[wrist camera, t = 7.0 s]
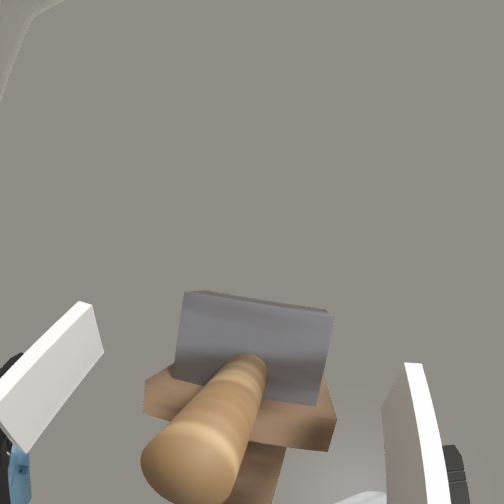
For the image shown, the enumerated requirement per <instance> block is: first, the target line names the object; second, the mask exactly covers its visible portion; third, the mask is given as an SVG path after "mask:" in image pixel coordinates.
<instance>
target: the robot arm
mask: <svg viewBox="0 0 504 504" xmlns="http://www.w3.org/2000/svg"><path fill="white" fill-rule="evenodd" d="M62 1H64V0H0V103H1V100H2V96H3V93H4V90H5V87H6V84H7V81H8V78H9V75H10V72H11V70H12V67H13V64H14V61H15V59H16V56H17V54H18V51H19V49H20V46H21V44H22V42H23V39H24V37H25V35H26V32H27V30H28V28H29V26H30V24H31V22H32V19H33V18H34V17H35V16H36V15H37V14H39V13H41V12H43V11H44V10H46V9H48V8H50V7H52V6H54V5H56V4H58V3H60V2H62ZM103 353H104V350H103V346H102V343H101V339H100V335H99V331H98V328H97V324H96V320H95V315H94V311H93V307H92V305H91V304H87V303H84V302H80V301H79V302H78V303H77V304H75V305H74V306H73V307H72V308H71V309H70V310H69V311H68V312H67V313H66V314H65V315H64V316H62V317H61V319H59V320H58V321H57V322H56V323H55V324H54V325H53V326H52V327H51V328H50V329H49V330H48V331H47V332H46V333H45V334H44V335H43V336H42V337H41V338H40V339H39V340H37V342H35V343H34V344H33V345H32V347H31V348H30V349H28V350H27V351H26V352H25V353H24V354H23V353H19V354H17V355H15V356H14V357H12V358H10V359H9V361H8V362H7V363H6V364H5V365H4V366H3V368H1V369H0V504H28V503H29V502H30V499H31V486H30V471H29V450H30V449H31V447H32V446H33V445H34V443H35V442H36V440H37V439H38V438H39V436H40V435H41V433H42V432H43V431H44V429H45V428H46V427H47V425H48V424H49V423H50V421H51V420H52V419H53V417H54V416H55V415H56V413H57V412H58V411H59V409H60V408H61V407H62V405H63V404H64V403H65V401H66V400H67V399H68V397H69V396H70V395H71V394H72V392H73V391H74V390H75V388H76V387H77V386H78V385H79V383H80V382H81V381H82V379H83V378H84V377H85V376H86V374H87V373H88V372H89V370H90V369H91V368H92V367H93V365H94V364H95V363H96V362H97V360H98V359H99V358H100V357H101V355H102V354H103ZM381 413H382V424H383V436H384V449H385V463H386V487H387V504H470V499H469V493H468V487H467V482H466V476H465V472H464V465H463V461H462V456H461V454H460V453H459V451H458V450H457V448H456V447H455V445H446V446H442V444H441V440H440V435H439V430H438V425H437V421H436V417H435V412H434V409H433V404H432V400H431V396H430V392H429V389H428V385H427V382H426V378H425V374H424V371H423V367H422V364H417V363H404V364H403V366H402V368H401V370H400V372H399V374H398V377H397V378H396V381H395V382H394V385H393V386H392V388H391V390H390V392H389V394H388V396H387V397H386V399H385V401H384V403H383V405H382V407H381Z"/></svg>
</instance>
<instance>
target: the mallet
mask: <svg viewBox="0 0 504 504" xmlns="http://www.w3.org/2000/svg"><path fill="white" fill-rule="evenodd" d="M333 320H334V316H332V315H331V314H330V313H329V312H327V311H326V310H324V309H317V308H311V307H304V306H298V305H291V304H285V303H279V302H272V301H266V300H260V299H254V298H248V297H242V296H236V295H230V294H224V293H219V292H213V291H189V292H184V298H183V303H182V311H181V317H180V324H179V332H178V339H177V346H176V354H175V362H174V371H173V378H174V379H177V380H181V381H185V382H189V383H193V384H197V385H201V386H204V387H203V388H202V389H201V390H200V391H199V392H198V393H197V394H196V395H195V396H194V398H193V399H192V400H191V401H190V402H189V403H188V404H187V405H186V406H185V407H184V408H183V409H182V410H181V411H180V412H179V413H178V414H177V415H176V416H175V417H174V418H173V419H172V420H171V421H170V422H169V423H168V424H167V426H165V428H163V430H161V432H159V433H158V434H157V435H156V436H155V438H153V439H152V441H151V442H149V443H148V444H147V446H146V447H145V448H144V450H143V452H142V455H141V468H142V471H143V474H144V476H145V478H146V480H147V482H148V483H149V484H150V486H151V487H152V488H153V489H154V490H155V491H156V492H157V493H158V494H159V495H161V496H162V497H164V498H165V499H167V500H169V501H170V502H172V503H175V504H221V503H222V502H224V501H225V500H226V499H227V498H228V497H229V495H230V493H231V491H232V488H233V486H234V483H235V480H236V477H237V474H238V471H239V468H240V465H241V462H242V459H243V457H244V454H245V451H246V448H247V445H248V441H249V438H250V435H251V432H252V429H253V426H254V423H255V420H256V417H257V413H258V410H259V407H260V404H261V401H262V399H268V400H274V401H280V402H287V403H293V404H300V405H308V406H316V403H317V399H318V395H319V390H320V386H321V381H322V377H323V372H324V367H325V362H326V357H327V352H328V346H329V342H330V336H331V331H332V325H333Z"/></svg>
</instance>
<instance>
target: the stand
mask: <svg viewBox="0 0 504 504" xmlns="http://www.w3.org/2000/svg"><path fill="white" fill-rule="evenodd" d="M173 371H174V364H172V365H170V366H169V367H167V368H166V369H164V370H162V371H160V372H159V373H157V374H155V375H154V376H152V377H150V378H149V379H147V380H146V381H145V390H144V404H143V413H146V414H149V415H152V416H155V417H158V418H161V419H164V420H168V421H171V420H172V419H173V418H174V417H175V416H176V415H177V414H178V413H179V412H180V411H181V410H182V409H183V408H184V407H185V406H186V405H187V404H188V403H189V402H190V401H191V400H192V399H193V398H194V396H195V395H196V394H197V393H198V392H199V391H200V390H201V389H202V388H203V387H204V386H201V385H197V384H193V383H189V382H185V381H181V380H177V379H174V378H173ZM336 421H337V418H336V414H335V411H334V408H333V405H332V401H331V398H330V395H329V391H328V388H327V385H326V382H325V378H324V375H323V377H322V381H321V386H320V390H319V395H318V399H317V403H316V406H308V405H300V404H293V403H287V402H280V401H274V400H268V399H262V401H261V404H260V407H259V410H258V413H257V417H256V420H255V423H254V426H253V429H252V432H251V435H250V438H249V441H248V445H247V448H246V451H245V454H244V457H243V459H242V462H241V465H240V468H239V471H238V474H237V477H236V480H235V483H234V486H233V488H232V491H231V493H230V495H229V497H228V498H227V499H226V500H225V501H224V502H222V503H221V504H271V503H272V499H273V496H274V493H275V489H276V485H277V481H278V478H279V474H280V471H281V467H282V463H283V459H284V455H285V451H286V447H290V448H298V449H305V450H314V451H324V452H328V449H329V445H330V442H331V438H332V435H333V432H334V428H335V424H336Z"/></svg>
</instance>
